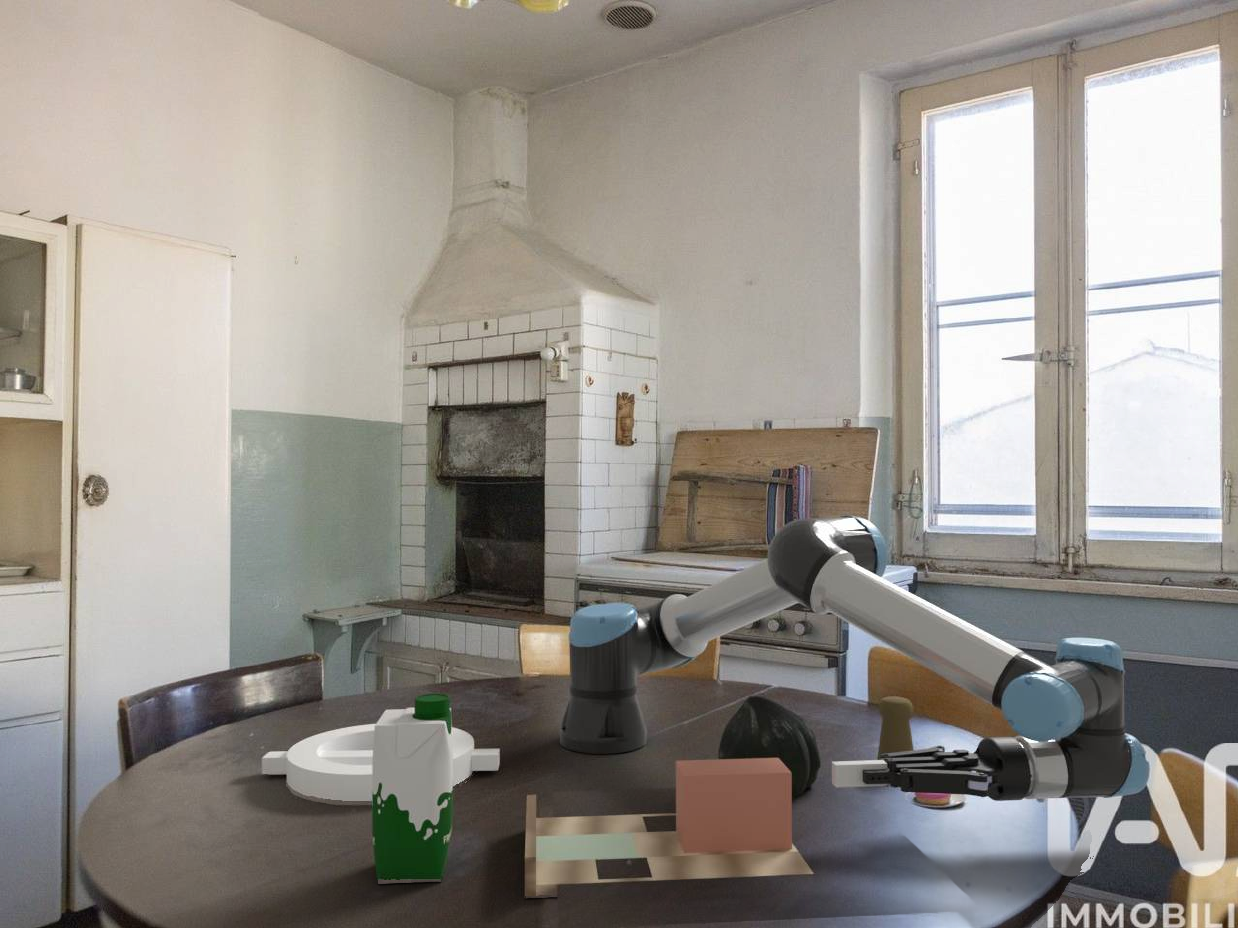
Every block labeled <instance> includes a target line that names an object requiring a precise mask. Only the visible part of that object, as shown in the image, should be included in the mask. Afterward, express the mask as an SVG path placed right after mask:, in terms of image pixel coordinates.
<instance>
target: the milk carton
mask: <svg viewBox="0 0 1238 928" xmlns="http://www.w3.org/2000/svg"><path fill="white" fill-rule="evenodd" d="M452 723H453V722H452V708H451V707H450V696H449V695H447V694H443V693H429V694H427V693H426V694H421V695H418V696H416V697H415V698H414V707H406V708H403V709H399V708H398V709H393V708H392V709H385V711H384V712H383V713H382V714H381V716H380V718H379V719H378V721H376V723H375V724H376V725H375V730H374V744H373V761H372V806H371V807H372V808H371V810H372V811H371V816H372V818H371V820H372V822H371V825H372V826H371V829H372V830H371V831H372V832H371V833H372V847H373V853H374V854H373V855H374V864H375V865H374V866H375V872H376V874H375V875H376V880H377V879H382V880H383V879H384V880H387V879H388V880H391V879H396V880H400V879H441V878H442V879H443V877H442V876H444V873H443V872H445V869H446V865H445V864H447V861H446V860H448V857H447V856H449V849H450V844H451V837H452V830H453V823H454V822H453V819H454V789H453V742H452V727H453V724H452ZM444 868H445V869H444Z"/></svg>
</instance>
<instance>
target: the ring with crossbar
mask: <svg viewBox="0 0 1238 928" xmlns="http://www.w3.org/2000/svg"><path fill="white" fill-rule="evenodd" d="M375 725H376V723H369V724H367V723H366V724H360V725H354V726H347V727H341V728H337V729H336V728H335V729H333V730H332V729H331V730H328V731H324V732H321V733H318V734H314V735H312V736H309V737H306V738H304V739H302V740H300V741H298V742H297V743H295V744H293V745H292V746H291V747H290V748H289V749H288V751H280V750H279V751H269V752H267V753H266V754H264V755H263V757H261V775H262V774H268V775H286V784H287V783H288V785H289V786H290V787H291V788H292V789H293V790H295V791H297V792H299V793H301V794H303V795H306V796H314V797H317V798H323V799H331V800H342V801H372V761H373V744H374V730H375ZM452 742H453V786H455V785H456V784H459V783H460V782H462V781H464V780H465V779H466V778H468V777H469V776H470V775H471V774H472V772H473V771H474V772H479V771H481V772H482V771H485V772H486V771H490V772H491V771H492V772H495V771H498V770H499V767H500V763H501V761H500V760H501V748H475V739H474V737H473V735H471V734H470V733H468V732H467V731H465V730H463V729H460V728H457V727H453V726H452Z"/></svg>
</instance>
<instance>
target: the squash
mask: <svg viewBox="0 0 1238 928" xmlns="http://www.w3.org/2000/svg"><path fill="white" fill-rule="evenodd" d="M719 742H720V743H719V746H718V753H717V755H718V759H751V758H779V759H780V760H781V761H782V762H783V764H784V765H785V766H786V767H787V768H788V769H789V770H790V771H791V773H792V796H801V795H803V794H804V793H805V790H806V789H807V788H809V787H811V786H813V784H814V783H815V782H816V780H817V779H818V777H817V776H818V772H819V770H820V768H821V765H822V764H821V757H820V751H819V748H818V744H817V743H818V742H817V738H816V736H815V733H814V732H813V728H812V726H811V725H810V723H808V721H807V720H805V719H804V718H803V717H801V716H800V715H798V714H797V713H795V712H793V711H791V710H789V709H788V708H786V707H784V706H783V705H781V704H779V703H777V702H775V701H773V700H771V699H769V698H766V697H762V696H757V695H756V696H755V695H754V696H753V695H750V696H748V698H747V699H746V700H745V701H744V702H743V703H742V705H741V706H740V708H739V709H738V710H737V711H736V712H735V713H734V714H733V716H732V717H731V718H730V720H729V721H728V723H727V724H726V725H725V728H724V730H723V732H722V736H721V739H720V741H719Z"/></svg>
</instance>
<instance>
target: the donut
mask: <svg viewBox="0 0 1238 928" xmlns="http://www.w3.org/2000/svg"><path fill="white" fill-rule="evenodd" d="M909 793H911V792H906V794H905V795H904V797H905V799H906V800H908V802H909V803H910V802H911V804H913V805H915V804H916V806H919V807H923V806H924V808H930V807H931V808H932V807H933V808H934V809H946V807H947V808H951V807H955V806H958V805H960V804H962V803H964V802H965V801H967V797H966V795H965V794H940V793H915V792H914V796H915V799H917V800H916V801H917V802H920V803H921V802H922V803H921V804H920V803H916V802H912V801H910V800H909V799H907V798H906V796H907V794H909ZM951 797H952V800H954V803H952V805H950V804H949V805H947V804H948V803H949V802H951V801H950V799H951ZM924 803H925V805H924ZM929 804H930V805H929ZM943 804H944V805H943Z"/></svg>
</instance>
